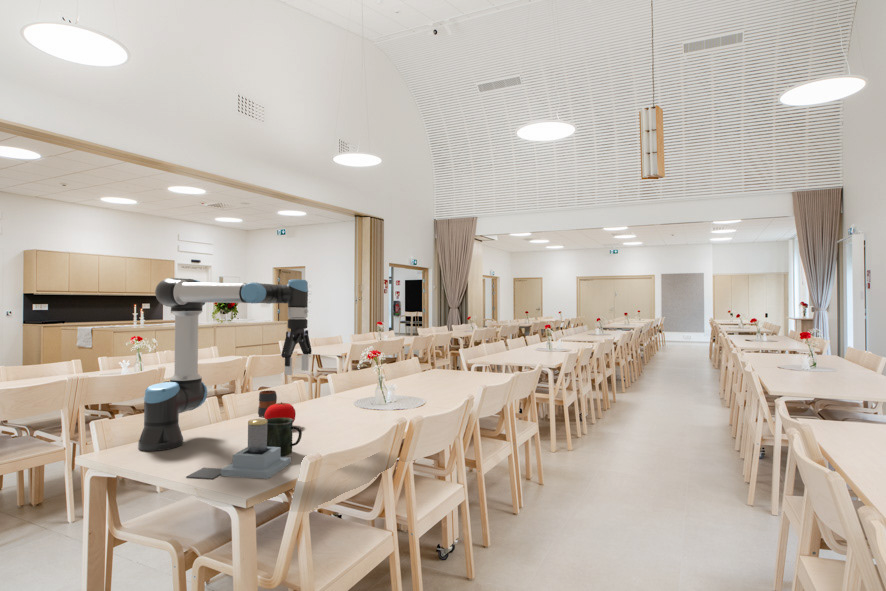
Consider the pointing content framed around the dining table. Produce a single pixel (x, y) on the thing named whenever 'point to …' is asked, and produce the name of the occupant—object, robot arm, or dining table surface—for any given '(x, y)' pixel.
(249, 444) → the grey canister
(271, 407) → the tomato
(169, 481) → the dining table surface
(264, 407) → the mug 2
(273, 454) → the housing
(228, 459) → the dining table surface
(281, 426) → the mug
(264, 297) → the robot arm
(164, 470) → the dining table surface
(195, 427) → the dining table surface
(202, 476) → the mat
